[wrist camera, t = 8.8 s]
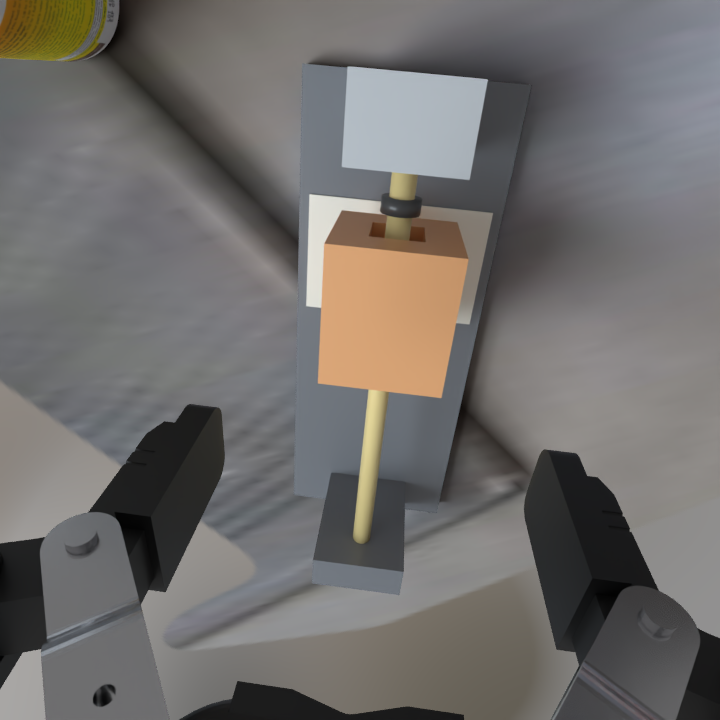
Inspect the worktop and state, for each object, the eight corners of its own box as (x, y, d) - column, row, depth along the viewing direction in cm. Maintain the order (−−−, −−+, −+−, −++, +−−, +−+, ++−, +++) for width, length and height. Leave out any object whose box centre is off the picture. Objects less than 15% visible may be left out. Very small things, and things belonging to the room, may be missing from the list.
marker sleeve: (342, 210, 22) (324, 243, 18) (457, 222, 22) (468, 258, 18) (334, 329, 25) (317, 383, 21) (436, 340, 25) (441, 398, 21)
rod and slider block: (306, 64, 23) (259, 58, 16) (527, 84, 22) (578, 87, 15) (296, 484, 36) (268, 582, 29) (435, 502, 35) (441, 606, 28)
